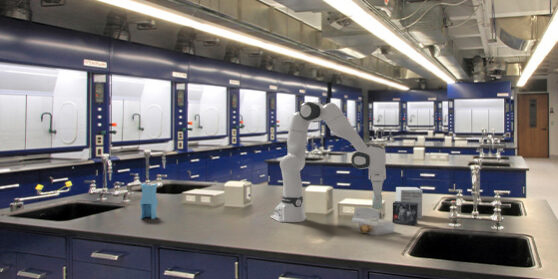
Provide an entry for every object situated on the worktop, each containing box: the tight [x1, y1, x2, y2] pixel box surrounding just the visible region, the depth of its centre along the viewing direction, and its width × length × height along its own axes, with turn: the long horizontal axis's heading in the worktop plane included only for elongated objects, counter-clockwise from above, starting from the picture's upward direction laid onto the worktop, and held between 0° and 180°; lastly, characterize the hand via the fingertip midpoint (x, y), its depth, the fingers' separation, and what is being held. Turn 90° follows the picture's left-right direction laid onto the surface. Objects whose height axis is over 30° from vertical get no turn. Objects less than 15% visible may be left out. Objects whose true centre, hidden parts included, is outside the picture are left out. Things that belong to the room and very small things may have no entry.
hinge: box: [351, 206, 382, 224], centre depth 261 cm, size 17×5×10 cm, turn 54°
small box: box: [391, 200, 418, 226], centre depth 261 cm, size 13×7×12 cm, turn 62°
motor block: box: [358, 218, 395, 237], centre depth 239 cm, size 12×17×6 cm
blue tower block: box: [139, 183, 159, 220], centre depth 272 cm, size 8×8×20 cm
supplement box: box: [395, 186, 423, 220], centre depth 280 cm, size 13×13×18 cm
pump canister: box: [371, 194, 383, 210], centre depth 239 cm, size 5×5×8 cm
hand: (377, 202), depth 239 cm, fingers closed on pump canister, 5 cm apart
